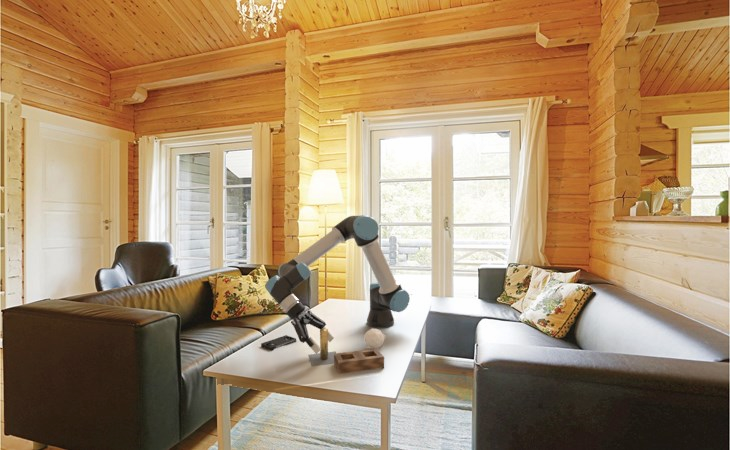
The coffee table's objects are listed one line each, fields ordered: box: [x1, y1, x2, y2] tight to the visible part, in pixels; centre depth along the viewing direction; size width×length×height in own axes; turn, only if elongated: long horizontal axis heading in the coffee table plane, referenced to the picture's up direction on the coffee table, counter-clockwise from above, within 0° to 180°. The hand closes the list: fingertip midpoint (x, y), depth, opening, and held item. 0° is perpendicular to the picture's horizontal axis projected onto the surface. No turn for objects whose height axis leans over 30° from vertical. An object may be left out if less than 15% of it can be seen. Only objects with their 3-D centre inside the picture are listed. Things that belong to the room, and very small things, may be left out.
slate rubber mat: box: [307, 351, 337, 367], centre depth 141 cm, size 12×12×1 cm
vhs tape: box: [260, 334, 297, 351], centre depth 159 cm, size 14×8×2 cm, turn 141°
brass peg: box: [319, 328, 329, 360], centre depth 141 cm, size 3×3×12 cm
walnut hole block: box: [333, 348, 385, 375], centre depth 134 cm, size 18×9×4 cm, turn 106°
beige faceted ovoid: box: [363, 327, 387, 349], centre depth 154 cm, size 9×9×12 cm
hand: (325, 345), depth 141 cm, fingers open, 13 cm apart
